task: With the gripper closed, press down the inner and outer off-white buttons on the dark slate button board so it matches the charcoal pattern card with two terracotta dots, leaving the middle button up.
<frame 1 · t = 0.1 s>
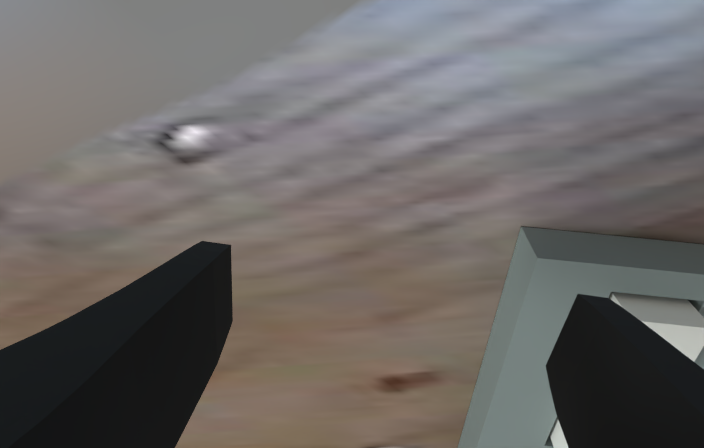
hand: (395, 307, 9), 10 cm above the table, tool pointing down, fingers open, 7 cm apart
button board: (574, 384, 24), on the table
button middle: (593, 427, 21), point 3 cm above the table, slide at 0.0 cm
button outer: (641, 331, 18), point 3 cm above the table, slide at 0.0 cm
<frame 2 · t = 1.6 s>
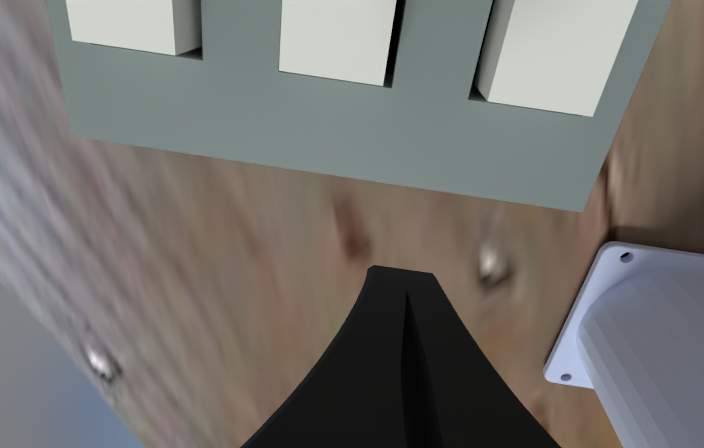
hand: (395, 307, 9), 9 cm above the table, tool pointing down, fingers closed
button board: (348, 12, 15), on the table
button inner: (544, 47, 13), point 3 cm above the table, slide at 0.0 cm
button middle: (341, 17, 13), point 3 cm above the table, slide at 0.0 cm
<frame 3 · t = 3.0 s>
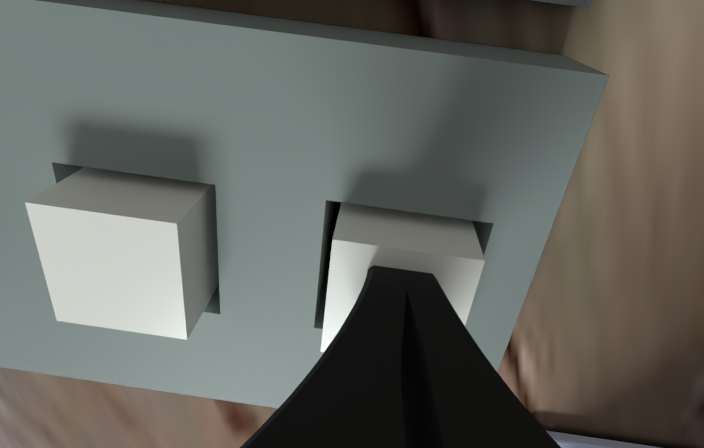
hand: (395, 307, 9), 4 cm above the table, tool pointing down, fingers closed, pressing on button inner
button board: (186, 199, 13), on the table
button inner: (396, 275, 11), point 2 cm above the table, slide at 0.2 cm, touching gripper
button middle: (141, 245, 10), point 3 cm above the table, slide at 0.0 cm
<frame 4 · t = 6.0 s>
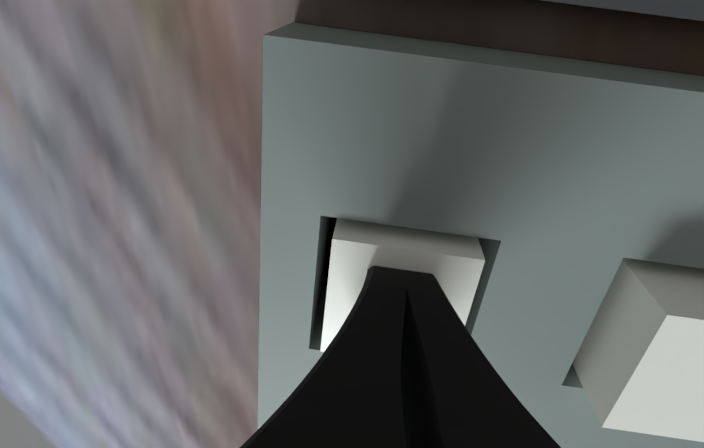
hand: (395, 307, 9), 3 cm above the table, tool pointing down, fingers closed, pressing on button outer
button board: (621, 272, 12), on the table
button middle: (674, 340, 10), point 3 cm above the table, slide at 0.0 cm
button outer: (396, 275, 11), point 2 cm above the table, slide at 1.0 cm, touching gripper
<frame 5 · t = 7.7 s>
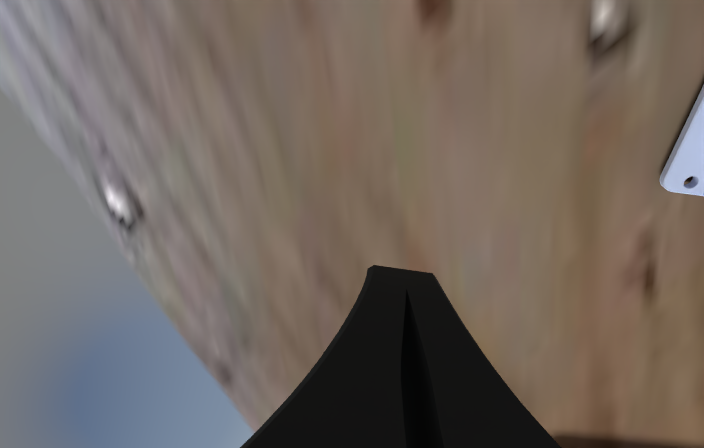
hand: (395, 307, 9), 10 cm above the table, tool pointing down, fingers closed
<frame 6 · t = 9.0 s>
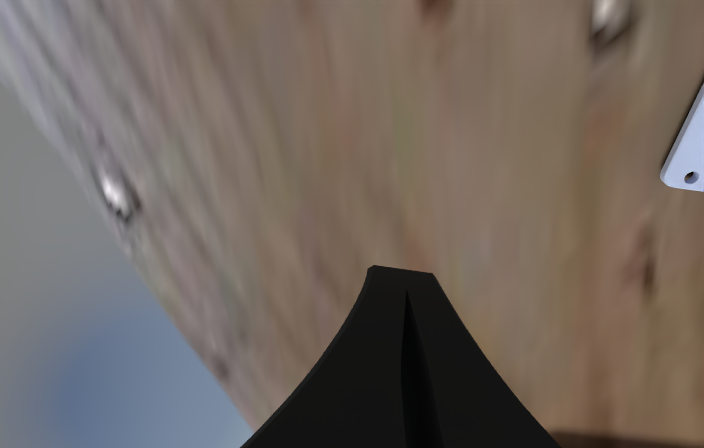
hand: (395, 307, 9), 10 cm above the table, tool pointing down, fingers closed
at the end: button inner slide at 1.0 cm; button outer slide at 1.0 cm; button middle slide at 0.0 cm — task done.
